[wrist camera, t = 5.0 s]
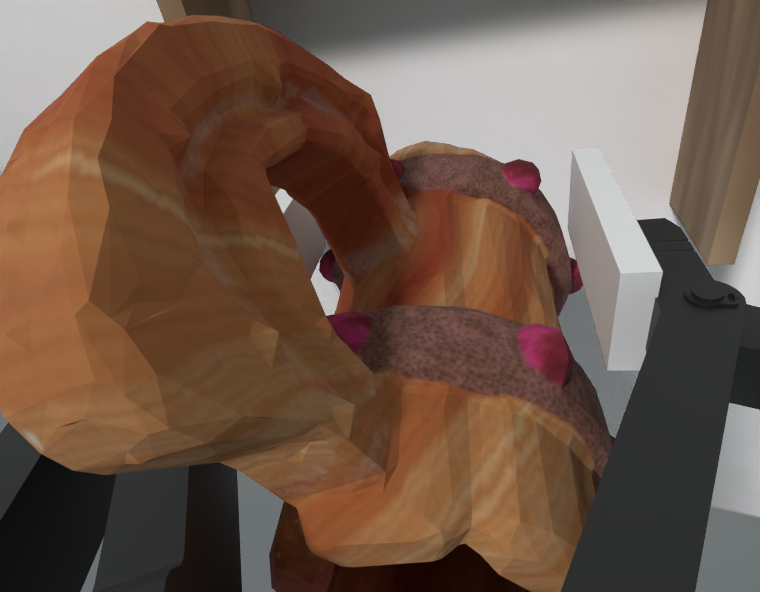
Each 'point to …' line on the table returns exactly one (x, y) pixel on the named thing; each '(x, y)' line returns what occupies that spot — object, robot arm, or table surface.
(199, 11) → the wooden boards
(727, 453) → the table surface
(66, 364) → the mug
